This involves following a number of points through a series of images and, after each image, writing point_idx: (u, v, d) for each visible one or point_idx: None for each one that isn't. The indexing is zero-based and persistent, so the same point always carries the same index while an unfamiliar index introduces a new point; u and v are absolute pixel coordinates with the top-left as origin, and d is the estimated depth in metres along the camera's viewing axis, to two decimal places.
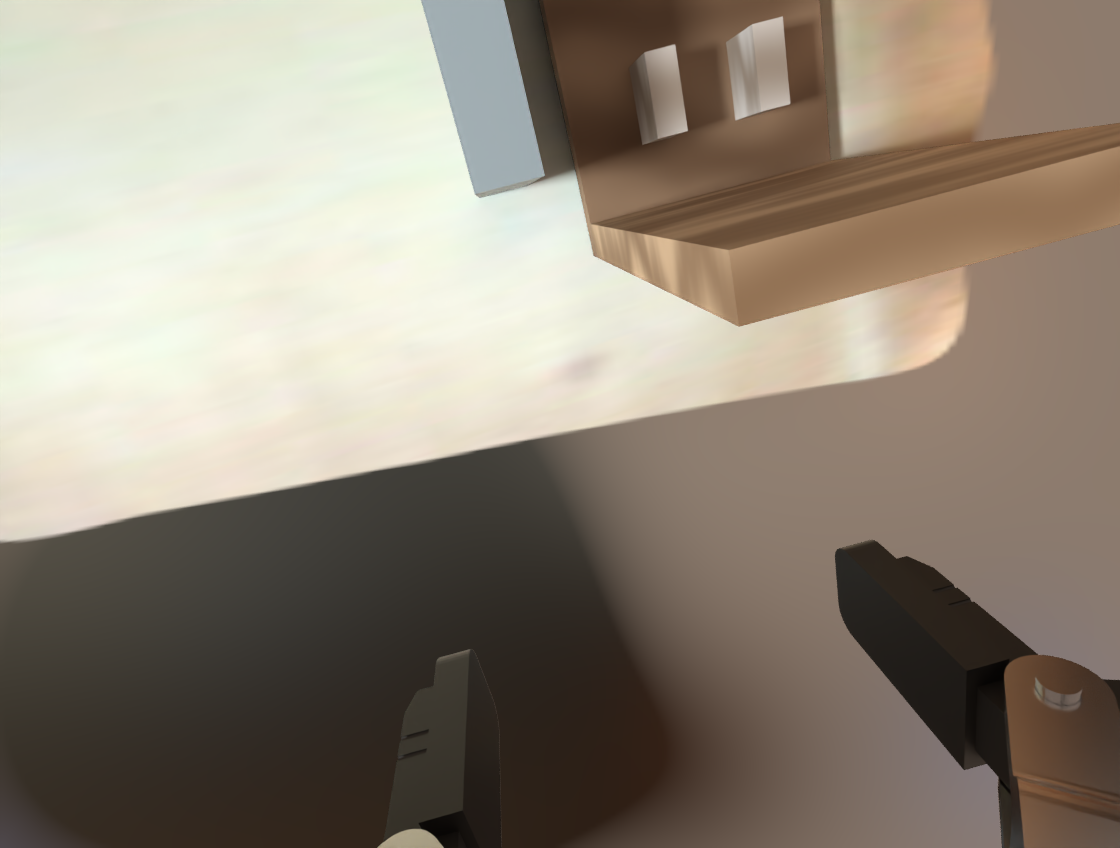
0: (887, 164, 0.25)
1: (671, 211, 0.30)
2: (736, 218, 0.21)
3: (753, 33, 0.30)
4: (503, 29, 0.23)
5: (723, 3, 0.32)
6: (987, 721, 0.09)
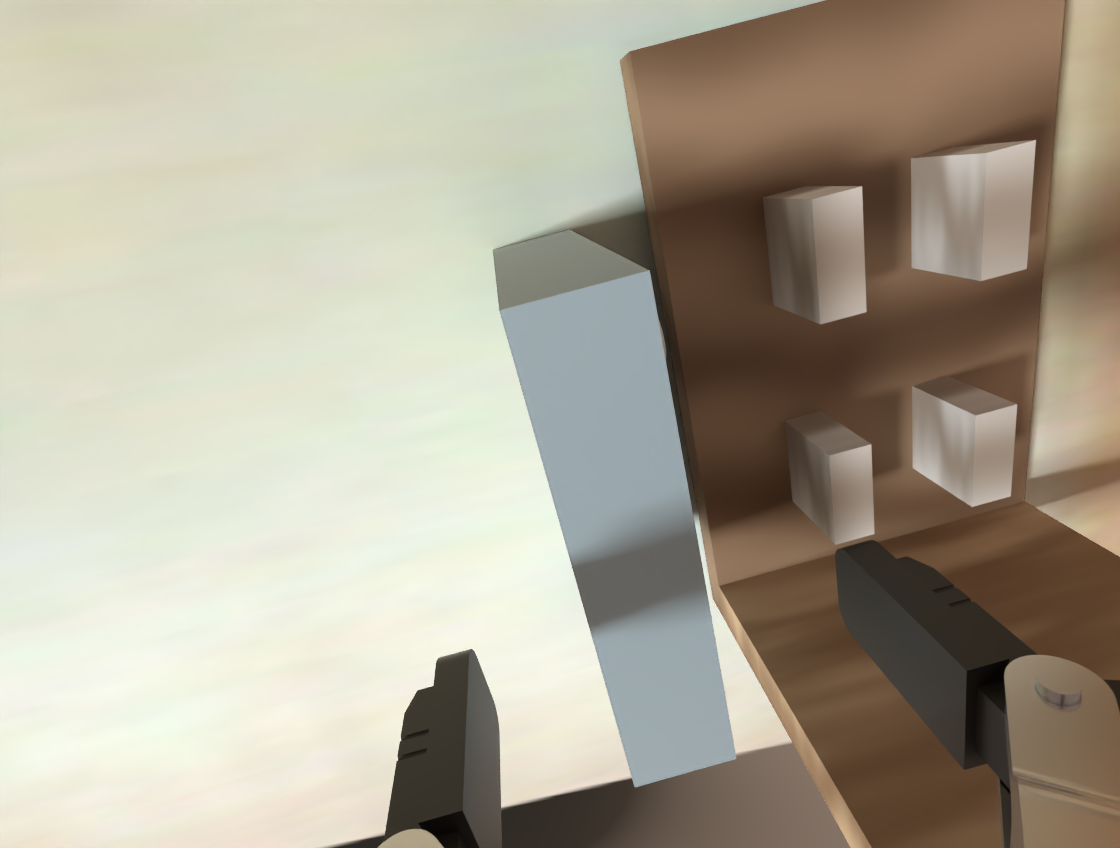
0: None
1: (861, 664, 0.22)
2: None
3: (975, 425, 0.22)
4: (699, 616, 0.15)
5: (914, 344, 0.24)
6: (987, 721, 0.09)
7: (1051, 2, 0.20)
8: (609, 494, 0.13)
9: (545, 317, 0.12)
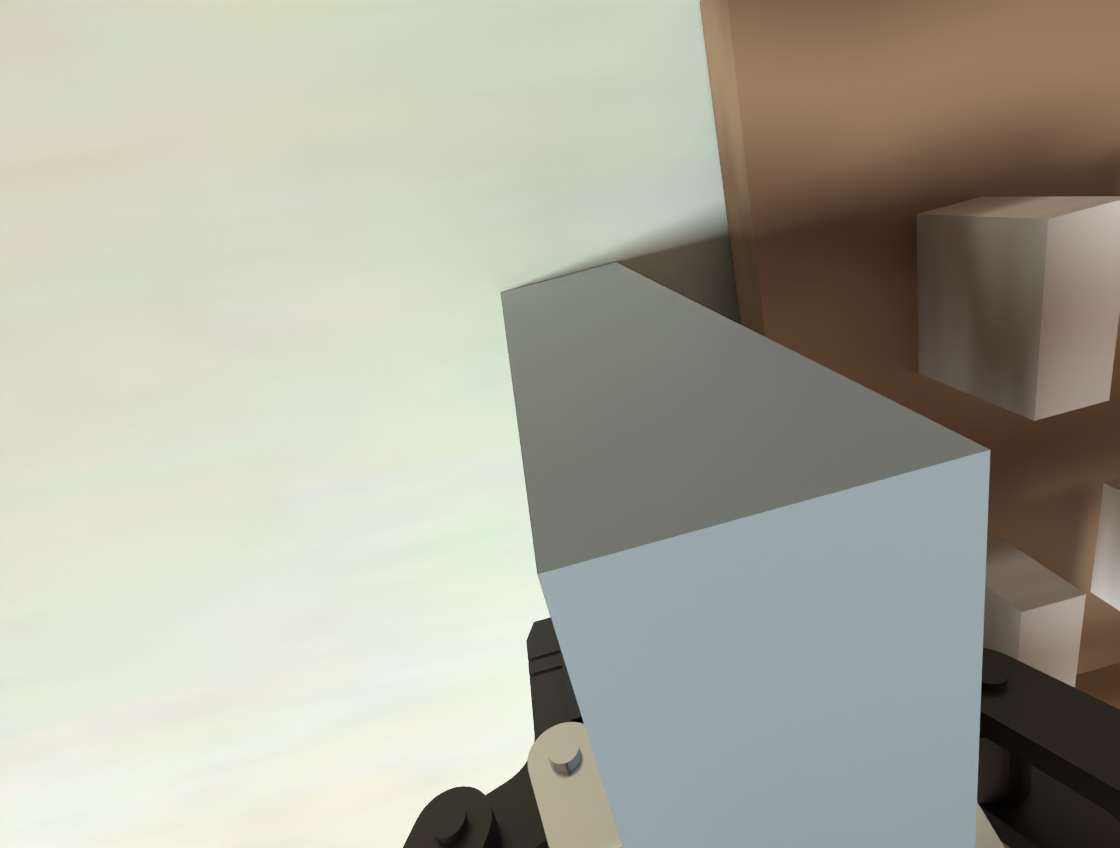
0: None
1: None
2: None
3: None
4: None
5: (1114, 425, 0.17)
6: None
7: None
8: None
9: (672, 585, 0.04)
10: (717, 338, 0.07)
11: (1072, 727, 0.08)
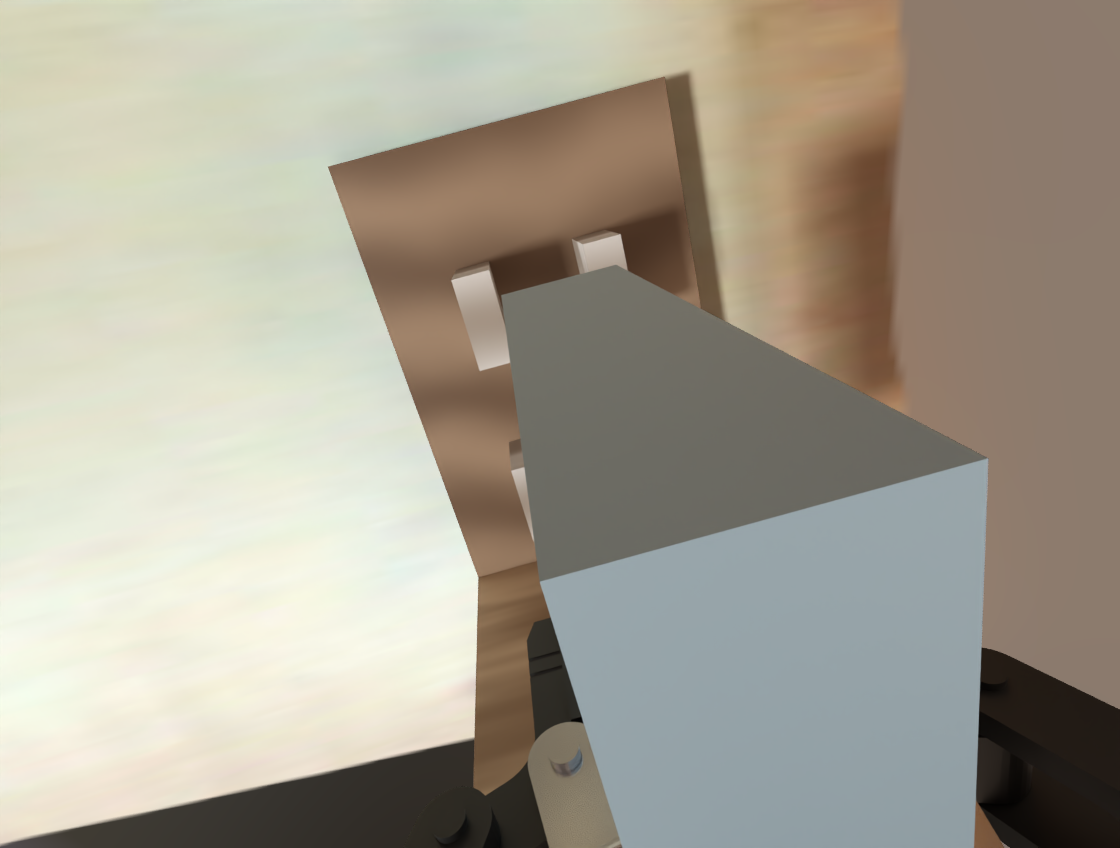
0: None
1: None
2: None
3: None
4: None
5: None
6: None
7: (661, 123, 0.26)
8: None
9: (673, 591, 0.04)
10: (717, 343, 0.07)
11: (1072, 727, 0.08)
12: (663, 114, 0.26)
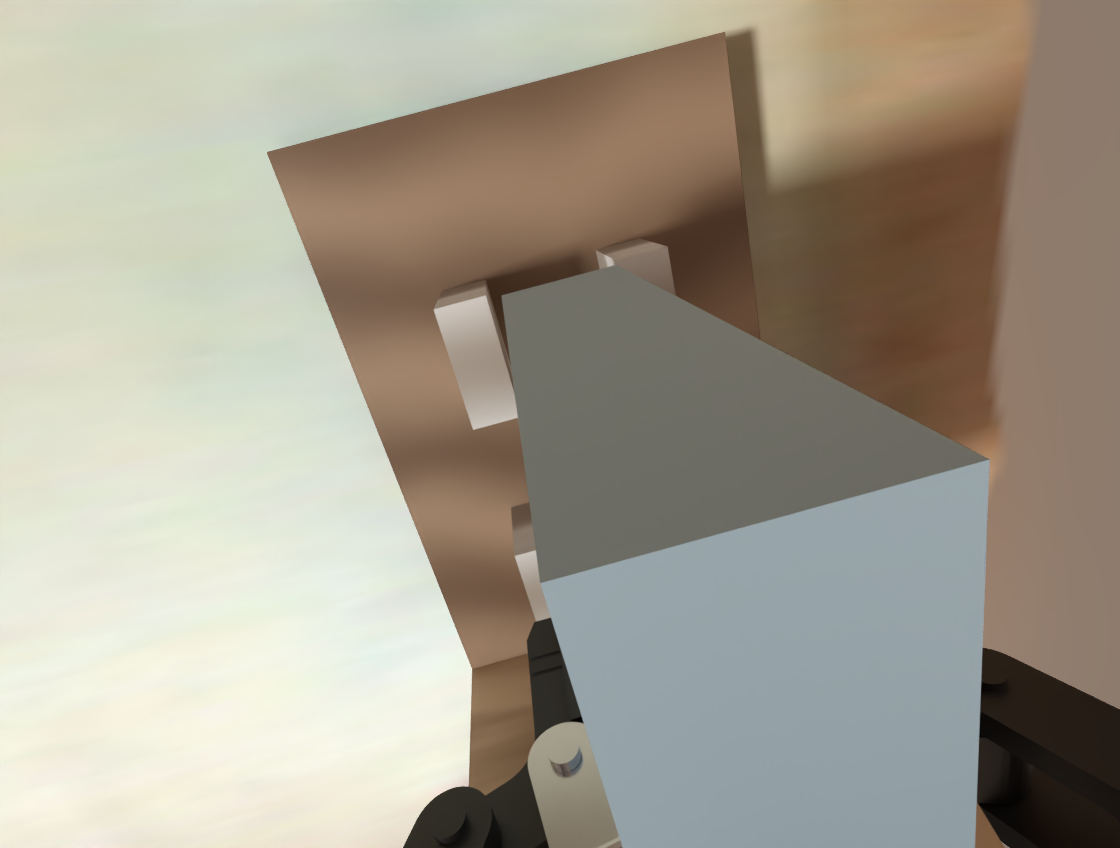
0: None
1: None
2: None
3: None
4: None
5: None
6: None
7: (717, 95, 0.20)
8: None
9: (674, 593, 0.04)
10: (718, 343, 0.07)
11: (1072, 727, 0.08)
12: (721, 84, 0.19)
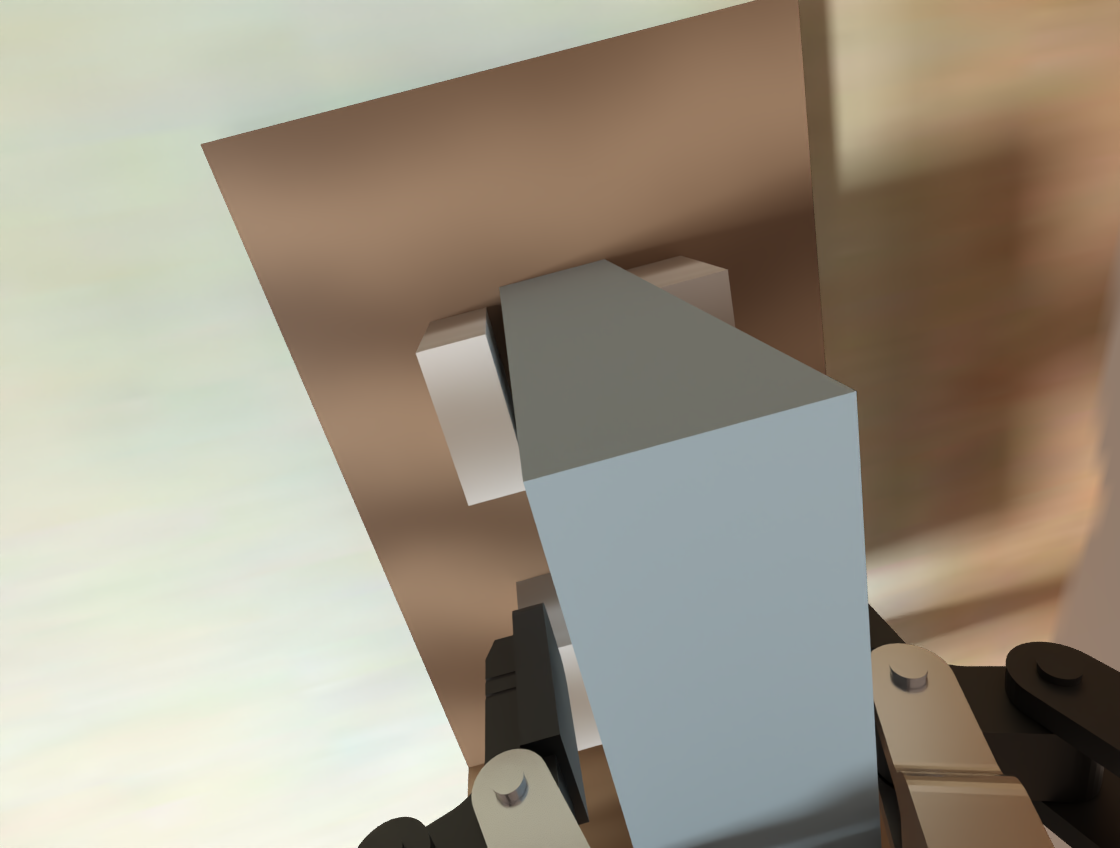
0: None
1: None
2: None
3: None
4: None
5: None
6: None
7: (785, 73, 0.15)
8: (731, 795, 0.07)
9: (624, 492, 0.05)
10: (680, 320, 0.09)
11: None
12: (790, 58, 0.15)
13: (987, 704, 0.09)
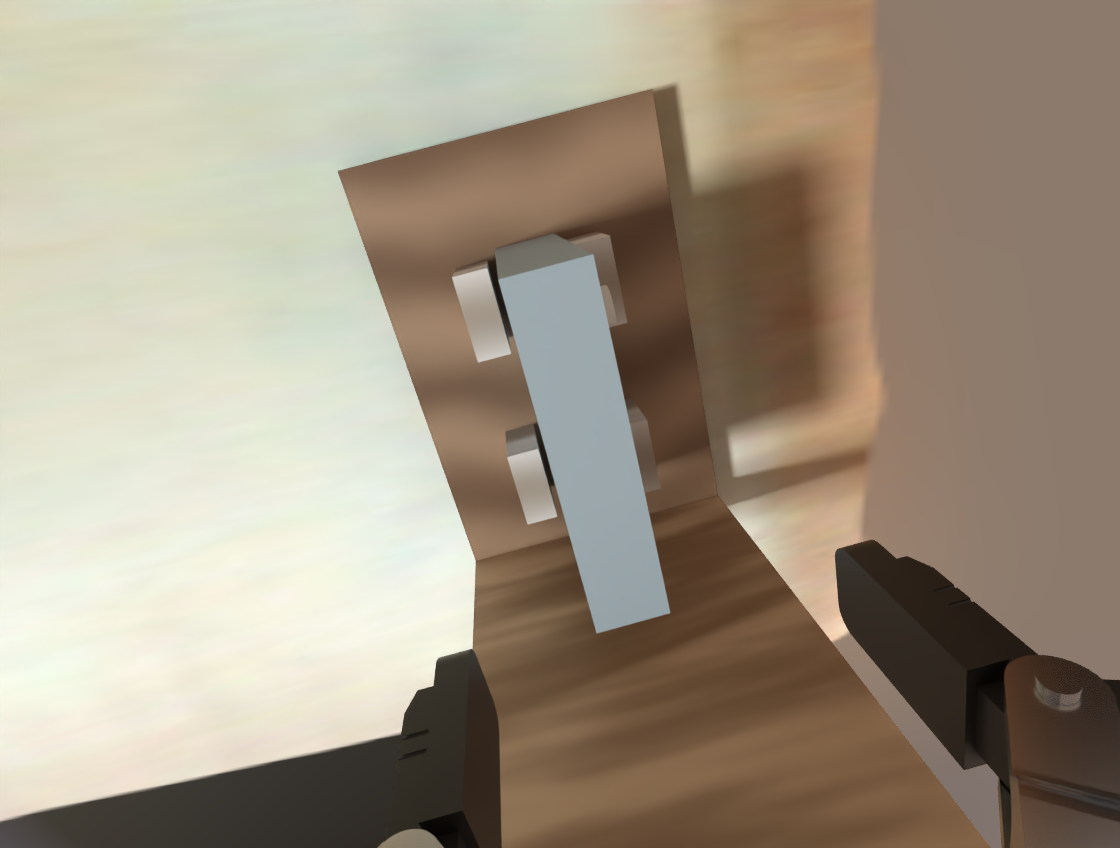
0: (727, 640, 0.25)
1: (535, 613, 0.30)
2: (540, 802, 0.20)
3: None
4: (637, 497, 0.21)
5: None
6: (987, 721, 0.09)
7: (649, 132, 0.28)
8: (572, 405, 0.20)
9: (527, 284, 0.18)
10: (565, 248, 0.21)
11: None
12: (651, 124, 0.28)
13: None
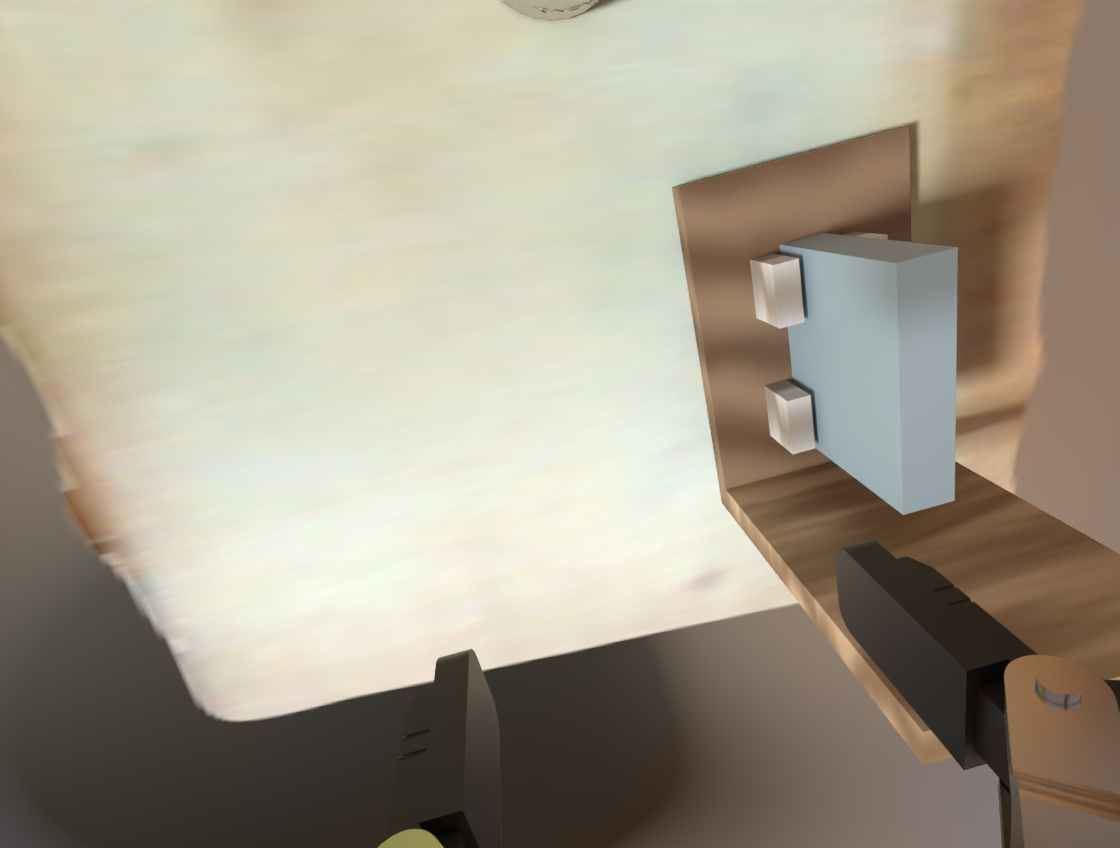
0: (980, 526, 0.35)
1: (806, 519, 0.39)
2: None
3: None
4: (950, 414, 0.31)
5: None
6: (987, 721, 0.09)
7: (902, 157, 0.38)
8: (922, 348, 0.29)
9: (913, 266, 0.28)
10: (898, 243, 0.31)
11: None
12: (904, 151, 0.38)
13: None
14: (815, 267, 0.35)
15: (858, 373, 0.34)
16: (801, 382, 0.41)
